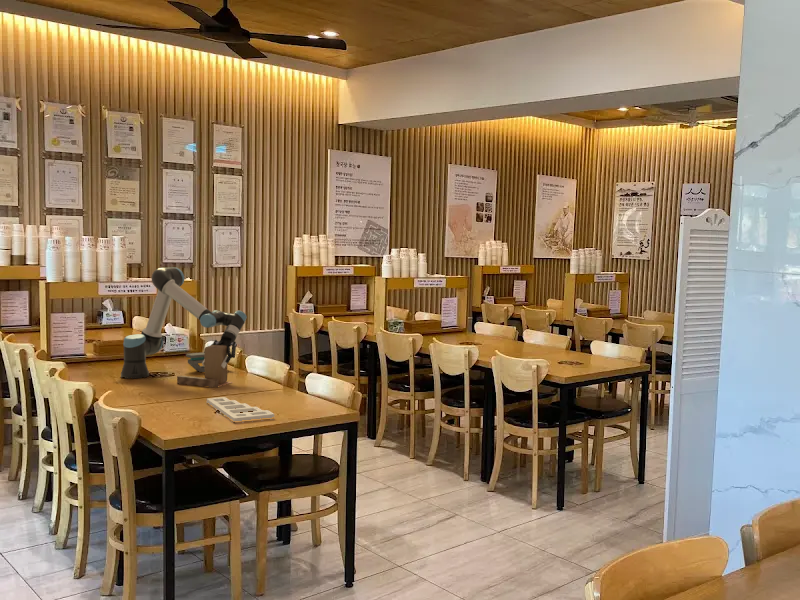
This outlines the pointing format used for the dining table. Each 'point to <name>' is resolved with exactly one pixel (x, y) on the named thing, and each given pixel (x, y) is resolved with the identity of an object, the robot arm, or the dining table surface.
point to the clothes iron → (196, 361)
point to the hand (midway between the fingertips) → (213, 366)
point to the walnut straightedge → (197, 381)
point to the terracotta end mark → (225, 383)
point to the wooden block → (215, 362)
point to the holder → (238, 409)
